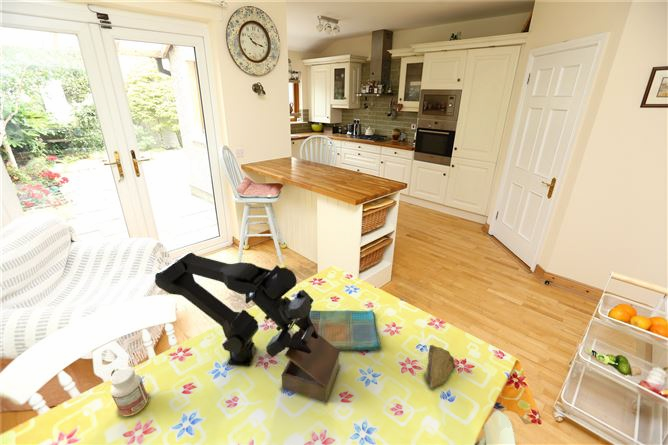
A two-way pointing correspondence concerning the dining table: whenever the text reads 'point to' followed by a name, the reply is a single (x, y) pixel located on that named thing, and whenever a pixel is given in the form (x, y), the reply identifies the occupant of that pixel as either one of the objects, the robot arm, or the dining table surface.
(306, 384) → the brown wooden box
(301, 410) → the dining table surface
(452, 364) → the rock
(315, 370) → the lid
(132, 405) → the pill bottle
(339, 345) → the dish towel
